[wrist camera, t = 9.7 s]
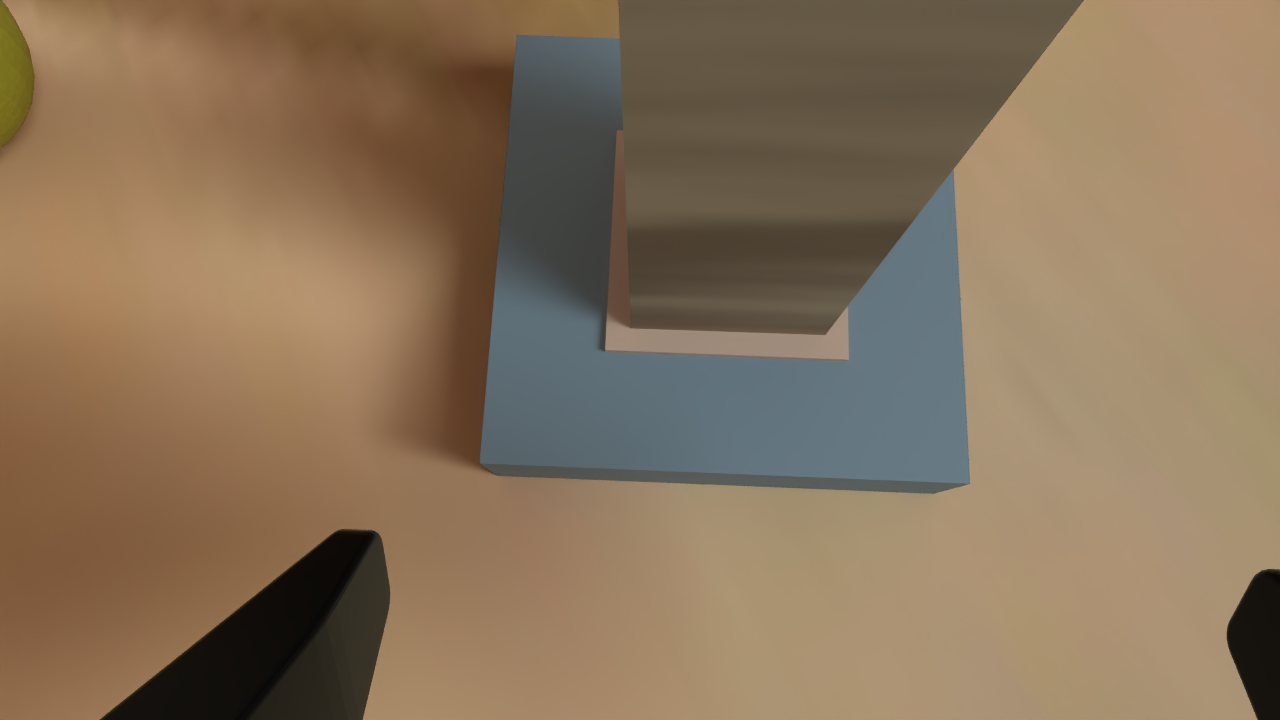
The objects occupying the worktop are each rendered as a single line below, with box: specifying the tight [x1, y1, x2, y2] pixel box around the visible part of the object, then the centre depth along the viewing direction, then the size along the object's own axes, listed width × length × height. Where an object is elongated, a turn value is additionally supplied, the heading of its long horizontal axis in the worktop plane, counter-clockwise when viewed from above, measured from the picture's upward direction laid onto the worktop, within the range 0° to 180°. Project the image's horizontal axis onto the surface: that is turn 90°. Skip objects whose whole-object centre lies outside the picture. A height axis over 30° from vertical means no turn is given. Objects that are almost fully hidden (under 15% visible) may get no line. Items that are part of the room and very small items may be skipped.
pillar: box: [618, 0, 1084, 335], centre depth 14 cm, size 4×4×13 cm
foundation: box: [479, 35, 970, 494], centre depth 22 cm, size 11×11×3 cm
